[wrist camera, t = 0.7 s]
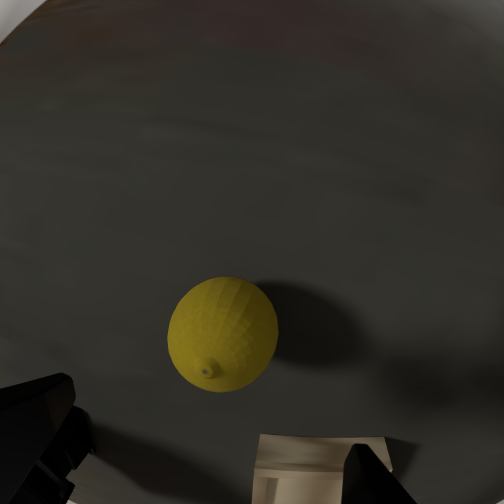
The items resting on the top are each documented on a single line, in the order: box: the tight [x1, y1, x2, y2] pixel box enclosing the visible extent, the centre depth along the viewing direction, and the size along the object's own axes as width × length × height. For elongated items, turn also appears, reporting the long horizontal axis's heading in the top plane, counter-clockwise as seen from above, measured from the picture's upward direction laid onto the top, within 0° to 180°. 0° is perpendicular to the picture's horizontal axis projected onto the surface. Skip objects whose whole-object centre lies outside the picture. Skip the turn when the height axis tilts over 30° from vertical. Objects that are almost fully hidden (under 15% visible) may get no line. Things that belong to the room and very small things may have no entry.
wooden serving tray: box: [252, 434, 392, 504], centre depth 21 cm, size 10×10×4 cm
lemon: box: [168, 277, 278, 392], centre depth 16 cm, size 6×6×8 cm
